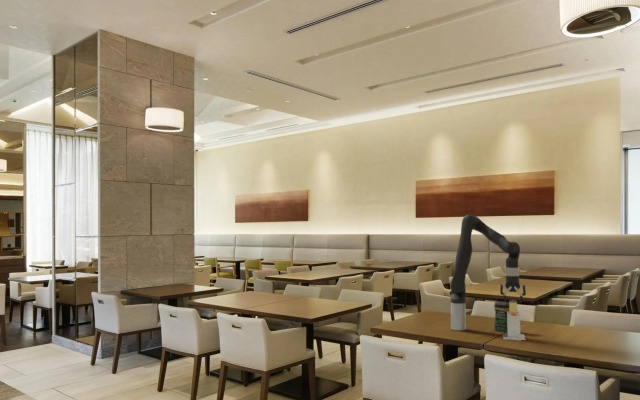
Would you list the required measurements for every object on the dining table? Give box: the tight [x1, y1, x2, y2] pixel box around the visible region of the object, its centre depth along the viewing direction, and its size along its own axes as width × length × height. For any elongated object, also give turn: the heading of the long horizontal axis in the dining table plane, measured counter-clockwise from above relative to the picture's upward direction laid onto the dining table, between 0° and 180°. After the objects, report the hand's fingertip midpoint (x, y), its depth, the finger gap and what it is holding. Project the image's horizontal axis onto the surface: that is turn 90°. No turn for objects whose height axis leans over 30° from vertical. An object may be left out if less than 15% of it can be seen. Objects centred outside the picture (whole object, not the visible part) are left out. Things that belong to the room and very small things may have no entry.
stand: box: [502, 311, 526, 341], centre depth 287 cm, size 12×12×15 cm
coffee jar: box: [493, 301, 509, 333], centre depth 307 cm, size 10×8×19 cm
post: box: [508, 299, 518, 313], centre depth 288 cm, size 4×4×21 cm
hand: (513, 302), depth 288 cm, fingers open, 8 cm apart
